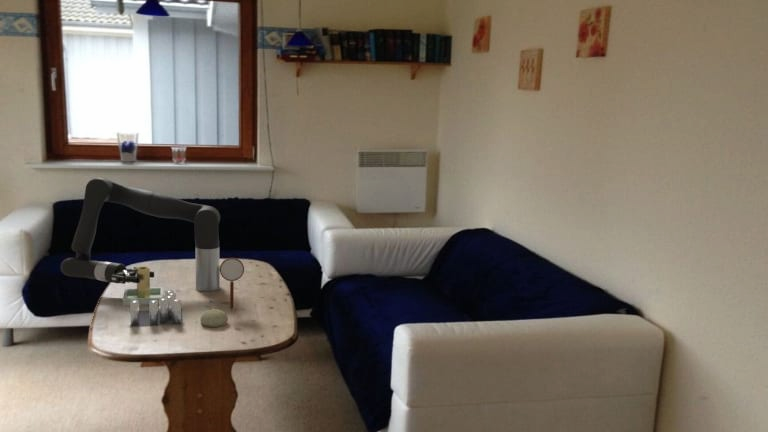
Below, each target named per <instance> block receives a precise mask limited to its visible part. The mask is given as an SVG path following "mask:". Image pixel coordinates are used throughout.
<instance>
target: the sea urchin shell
mask: <svg viewBox="0 0 768 432" xmlns="http://www.w3.org/2000/svg"><path fill="white" fill-rule="evenodd" d="M199 321H200V323H201V325H202V326H204V327H209V328H218V327H222V326H224V325H226V324H227V323H228V322H229V317H228V315H227V314H226V313H225V312H224V311H223V310H220V309H218V308H217V309H215V308H213V309H212V308H211V309H208V310H205V311H204V312H203V313H202V314H201V316H200V319H199Z"/></svg>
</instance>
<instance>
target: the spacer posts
mask: <svg viewBox="0 0 768 432" xmlns="http://www.w3.org/2000/svg"><path fill="white" fill-rule="evenodd" d="M174 291H175V290H172V289H167V290H165V297H163V298H162V299H159V304H158V301H157V300H151V301H149V305H148V306H149V308H148V309H149V315H150V325H158V310H159V323H167V322H168V320H173V324H180V325H182V324H181V309H182V300H181V299H177V293H176V292H174ZM129 310H130V312H129V313H130V324H131V325H132V326H137V325H139V311H140V305H139V301H137V300H133V301H130V306H129Z"/></svg>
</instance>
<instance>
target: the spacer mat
mask: <svg viewBox="0 0 768 432" xmlns="http://www.w3.org/2000/svg"><path fill="white" fill-rule="evenodd" d="M175 325H176V326H178V325H184V318H183V308H181V324H173V320H168V322H167V323H159V309H158V325H150V315H149V310H146V309H145V310H139V325H137V326H132V325H131V323H130V324H129V327H130V328H140V327H141V328H143V327H158V326H159V327H160V326H175Z"/></svg>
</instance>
